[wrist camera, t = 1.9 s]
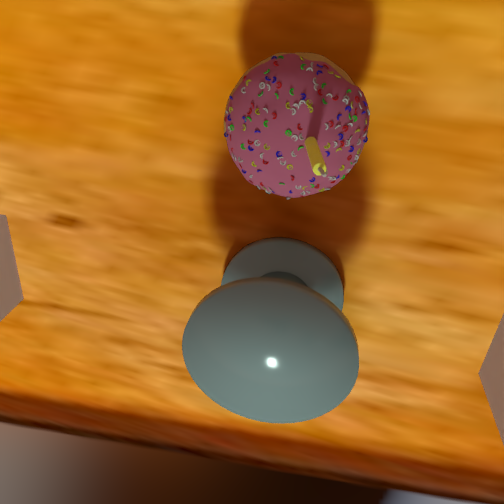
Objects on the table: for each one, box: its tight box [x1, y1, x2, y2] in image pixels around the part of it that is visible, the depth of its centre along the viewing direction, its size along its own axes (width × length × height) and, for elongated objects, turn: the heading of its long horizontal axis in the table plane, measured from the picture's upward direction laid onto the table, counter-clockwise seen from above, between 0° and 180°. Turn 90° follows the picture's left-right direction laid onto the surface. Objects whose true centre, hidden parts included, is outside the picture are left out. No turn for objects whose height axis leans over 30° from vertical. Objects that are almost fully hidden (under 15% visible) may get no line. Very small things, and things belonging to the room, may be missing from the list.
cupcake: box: [224, 52, 370, 199], centre depth 27 cm, size 9×8×12 cm
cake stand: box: [182, 237, 359, 423], centre depth 36 cm, size 12×12×8 cm
